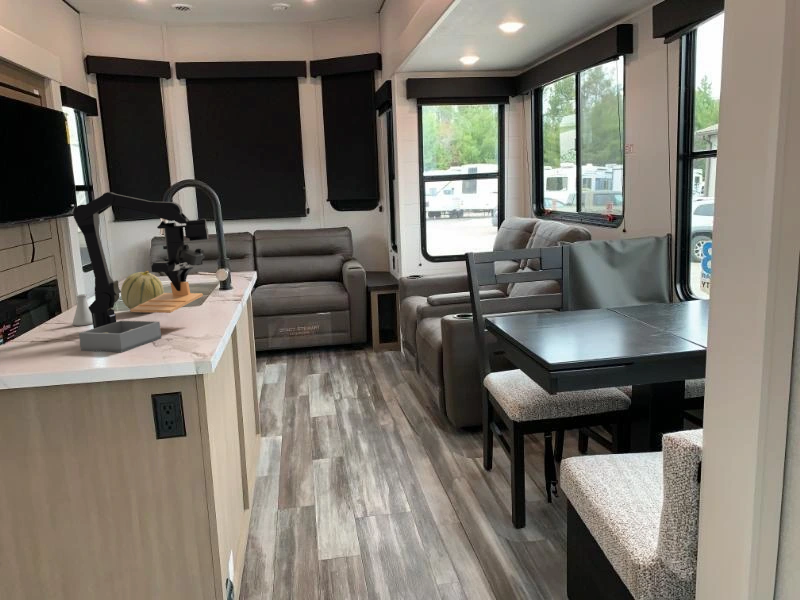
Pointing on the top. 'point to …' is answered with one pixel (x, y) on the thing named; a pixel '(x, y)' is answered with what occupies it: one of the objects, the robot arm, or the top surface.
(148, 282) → the cantaloupe
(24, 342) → the top surface
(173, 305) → the lid
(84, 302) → the flask
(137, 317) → the top surface
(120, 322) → the tub
